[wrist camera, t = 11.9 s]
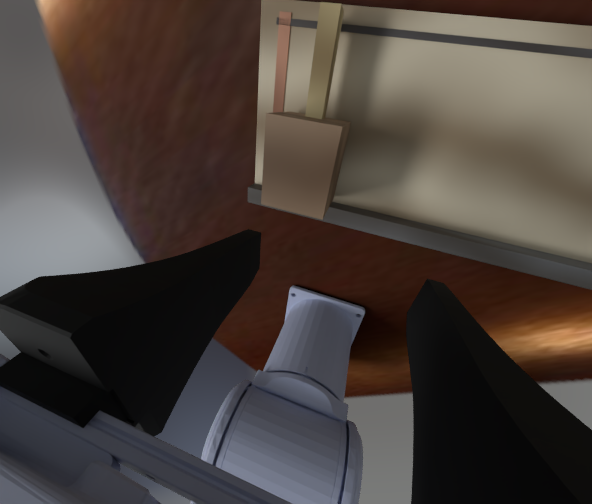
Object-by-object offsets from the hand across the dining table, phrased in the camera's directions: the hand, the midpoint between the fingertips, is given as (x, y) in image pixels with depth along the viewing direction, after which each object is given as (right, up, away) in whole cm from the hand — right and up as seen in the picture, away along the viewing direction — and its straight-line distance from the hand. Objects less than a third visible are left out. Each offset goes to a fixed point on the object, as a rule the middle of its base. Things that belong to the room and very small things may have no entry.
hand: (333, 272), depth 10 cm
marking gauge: (0, +9, +5) cm, 11 cm away
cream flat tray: (+9, +7, +5) cm, 13 cm away
